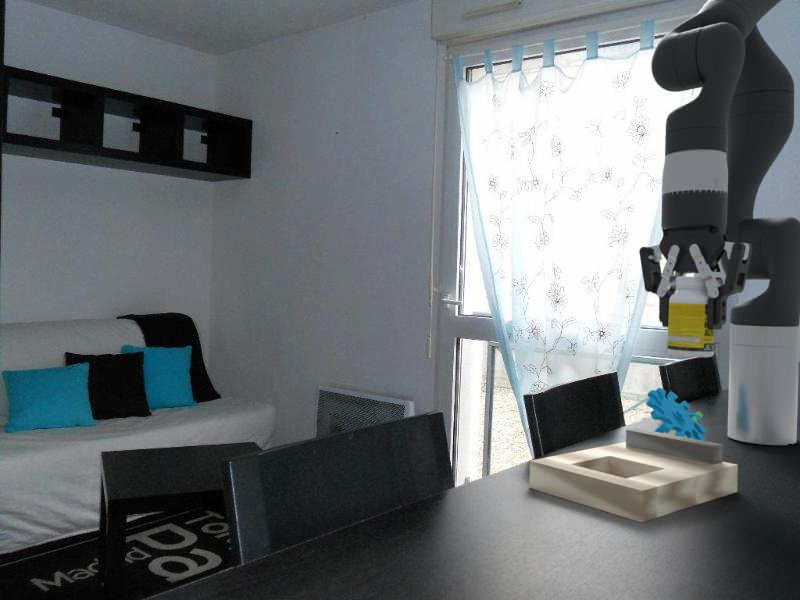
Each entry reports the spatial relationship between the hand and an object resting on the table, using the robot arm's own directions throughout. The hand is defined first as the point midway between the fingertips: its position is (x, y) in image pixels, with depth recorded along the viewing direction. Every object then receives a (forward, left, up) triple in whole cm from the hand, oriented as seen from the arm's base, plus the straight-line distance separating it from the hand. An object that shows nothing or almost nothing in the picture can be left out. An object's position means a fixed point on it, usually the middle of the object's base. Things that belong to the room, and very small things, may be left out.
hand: (691, 327), depth 87 cm
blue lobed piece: (-14, -10, -18) cm, 25 cm away
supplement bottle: (0, 0, -4) cm, 4 cm away
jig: (+14, +2, -17) cm, 23 cm away
